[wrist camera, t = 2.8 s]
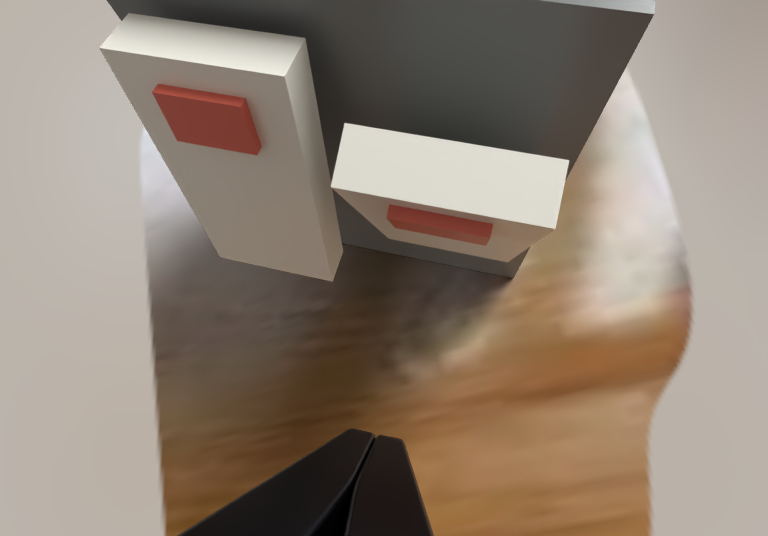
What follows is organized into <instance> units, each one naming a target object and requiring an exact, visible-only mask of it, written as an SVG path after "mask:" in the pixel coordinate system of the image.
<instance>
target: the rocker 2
mask: <svg viewBox="0 0 768 536" xmlns="http://www.w3.org/2000/svg"><path fill="white" fill-rule="evenodd" d="M568 164H569V160H565V159H559V158H553V157H547V156H541V155H535V154H529V153H523V152H517V151H511V150H505V149H499V148H493V147H487V146H481V145H475V144H469V143H463V142H457V141H451V140H445V139H439V138H433V137H427V136H420V135H414V134H408V133H402V132H396V131H390V130H384V129H378V128H372V127H366V126H360V125H354V124H348V123H345V124H344V128H343V133H342V137H341V142H340V147H339V151H338V156H337V160H336V165H335V169H334V174H333V179H332V183H331V188H332V189H333V190H335V191H336V192H337V193H338V194H339V195H340V196H341V197H342V198H344V199H345V200H346V201H347V202H348V203H349V204H350V205H351V206H353V207H354V208H355V209H356V210H357V211H358V212H359V213H360V214H362V215H363V216H364V217H365V218H366V219H367V220H368V221H369V222H371V223H372V224H373V225H374V226H375V227H376V228H377V229H378V230H380V231H381V232H382V233H383V234H384V235H385V236H386V237H387V238H388V239H393V240H398V241H403V242H408V243H413V244H418V245H423V246H428V247H433V248H438V249H443V250H448V251H453V252H458V253H463V254H468V255H473V256H478V257H483V258H488V259H493V260H498V261H503V262H509V261H510V260H512V259H513V258H515V257H516V256H517V255H519V254H520V253H522V252H523V251H525V250H526V249H527V248H529V247H530V246H532V245H533V244H535V243H536V242H537V241H539V240H540V239H542V238H543V237H545V236H546V235H547V234H549V233H550V232H552V231H553V230H555V228H556V223H557V218H558V214H559V209H560V204H561V199H562V194H563V189H564V184H565V179H566V174H567V169H568Z"/></svg>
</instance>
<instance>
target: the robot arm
mask: <svg viewBox="0 0 768 536" xmlns="http://www.w3.org/2000/svg"><path fill="white" fill-rule="evenodd" d="M178 536H434V535H433V531H432V528H431V525H430V522H429V519H428V516H427V512H426V509H425V506H424V503H423V500H422V497H421V493H420V490H419V487H418V484H417V481H416V478H415V475H414V471H413V468H412V465H411V462H410V459H409V456H408V452H407V449H406V446H405V444H404V442H403V440H401V439H398V438H393V437H389V436H384V435H379V436H377V437H376V438H375V435H374V434H373V433H370V432H366V431H361V430H357V429H349V430H346V431H345V432H343V433H341V434H340V435H338V436H337V437H335V438H333V439H332V440H330V441H329V442H327V443H325V444H324V445H322V446H321V447H319V448H317V449H316V450H314V451H313V452H311V453H309V454H308V455H306V456H305V457H303V458H301V459H300V460H298V461H296V462H295V463H293V464H292V465H290V466H288V467H287V468H285V469H284V470H282V471H280V472H279V473H277V474H276V475H274V476H272V477H271V478H269V479H268V480H266V481H264V482H263V483H261V484H259V485H258V486H256V487H255V488H253V489H251V490H250V491H248V492H247V493H245V494H243V495H242V496H240V497H239V498H237V499H235V500H234V501H232V502H231V503H229V504H227V505H226V506H224V507H223V508H221V509H219V510H218V511H216V512H214V513H213V514H211V515H210V516H208V517H206V518H205V519H203V520H202V521H200V522H198V523H197V524H195V525H194V526H192V527H190V528H189V529H187V530H186V531H184V532H182V533H181V534H179V535H178Z"/></svg>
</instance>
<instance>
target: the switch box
mask: <svg viewBox="0 0 768 536" xmlns="http://www.w3.org/2000/svg"><path fill="white" fill-rule="evenodd" d="M107 1H108V3H109V4H110V5H111V7H112V8H113V10H114V11H115V12H116V14H117V15H118V16H119V18H120V19H121V21H122V20H123V19H124V18H125V17H126V16H127V14H128V13H132V14H139V15H147V16H154V17H161V18H168V19H175V20H182V21H189V22H196V23H203V24H210V25H217V26H224V27H231V28H238V29H246V30H253V31H260V32H267V33H274V34H281V35H288V36H295V37H302V38H305V39H306V45H307V50H308V56H309V61H310V67H311V73H312V78H313V84H314V90H315V95H316V101H317V106H318V112H319V118H320V123H321V129H322V135H323V140H324V146H325V152H326V157H327V163H328V168H329V174H330V180H331V183H332V179H333V174H334V169H335V165H336V160H337V156H338V151H339V147H340V142H341V137H342V133H343V128H344V124H345V123H348V124H354V125H360V126H366V127H372V128H378V129H384V130H390V131H396V132H402V133H408V134H414V135H420V136H427V137H433V138H439V139H445V140H451V141H457V142H463V143H469V144H475V145H481V146H487V147H493V148H499V149H505V150H511V151H517V152H523V153H529V154H535V155H541V156H547V157H553V158H559V159H565V160H569V164H568V169H567V174H566V179H567V177H568V175H569V173H570V171H571V169H572V167H573V166H574V164H575V162H576V160H577V158H578V156H579V154H580V152H581V151H582V149H583V147H584V145H585V143H586V141H587V139H588V137H589V136H590V134H591V132H592V130H593V128H594V126H595V124H596V122H597V120H598V119H599V117H600V115H601V113H602V111H603V109H604V107H605V105H606V104H607V102H608V100H609V98H610V96H611V94H612V92H613V90H614V89H615V87H616V85H617V83H618V81H619V79H620V77H621V75H622V74H623V72H624V70H625V68H626V66H627V64H628V62H629V60H630V58H631V57H632V55H633V53H634V51H635V49H636V47H637V45H638V43H639V42H640V40H641V38H642V36H643V34H644V32H645V30H646V28H647V27H648V25H649V23H650V21H651V19H652V17H653V15H654V11H655V1H656V0H107ZM566 179H565V181H566ZM332 191H333V197H334V202H335V208H336V214H337V219H338V225H339V230H340V236H341V242H342V243H343V244H348V245H353V246H358V247H363V248H368V249H373V250H377V251H382V252H387V253H392V254H397V255H402V256H407V257H412V258H417V259H422V260H427V261H431V262H436V263H441V264H446V265H451V266H456V267H461V268H466V269H471V270H476V271H481V272H485V273H490V274H495V275H500V276H505V277H510V278H514V276H515V275H516V273H517V271H518V269H519V267H520V265H521V263H522V261H523V259H524V258H525V256H526V254H527V252H528V250H529V248H530V247H529V248H527V249H526V250H525V251H523V252H522V253H520V254H519V255H517V256H516V257H515V258H513V259H512V260H510V261H509V262H503V261H498V260H493V259H488V258H483V257H478V256H473V255H468V254H463V253H458V252H453V251H448V250H443V249H438V248H433V247H428V246H423V245H418V244H413V243H408V242H403V241H398V240H393V239H388V238H387V237H386V236H385V235H384V234H383V233H382V232H381V231H380V230H378V229H377V228H376V227H375V226H374V225H373V224H372V223H371V222H369V221H368V220H367V219H366V218H365V217H364V216H363V215H362V214H360V213H359V212H358V211H357V210H356V209H355V208H354V207H353V206H351V205H350V204H349V203H348V202H347V201H346V200H345V199H344V198H342V197H341V196H340V195H339V194H338V193H337V192H336V191H335V190H333V189H332Z"/></svg>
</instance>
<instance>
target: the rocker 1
mask: <svg viewBox="0 0 768 536" xmlns="http://www.w3.org/2000/svg"><path fill="white" fill-rule="evenodd" d="M100 50H101V52H102V54H103V55H104V57H105V59H106V60H107V62H108V64H109V65H110V67H111V69H112V71H113V72H114V74H115V76H116V78H117V80H118V81H119V83H120V85H121V86H122V88H123V90H124V92H125V93H126V95H127V97H128V99H129V100H130V102H131V104H132V106H133V107H134V109H135V111H136V112H137V114H138V116H139V118H140V119H141V121H142V123H143V125H144V126H145V128H146V130H147V132H148V133H149V135H150V137H151V139H152V140H153V142H154V144H155V145H156V147H157V149H158V151H159V152H160V154H161V156H162V158H163V159H164V161H165V163H166V165H167V166H168V168H169V170H170V171H171V173H172V175H173V177H174V178H175V180H176V182H177V184H178V185H179V187H180V189H181V191H182V192H183V194H184V196H185V198H186V199H187V201H188V203H189V204H190V206H191V208H192V210H193V211H194V213H195V215H196V217H197V218H198V220H199V222H200V224H201V225H202V227H203V229H204V230H205V232H206V234H207V236H208V237H209V239H210V241H211V243H212V244H213V246H214V248H215V250H216V251H217V253H218V255H219V256H220V257H221V258H225V259H230V260H234V261H239V262H244V263H248V264H253V265H258V266H262V267H267V268H271V269H276V270H281V271H285V272H290V273H294V274H299V275H304V276H308V277H313V278H318V279H322V280H327V281H331V282H333V279H334V276H335V274H336V271H337V268H338V265H339V262H340V259H341V257H342V254H343V247H342V242H341V236H340V230H339V225H338V219H337V214H336V208H335V202H334V197H333V191H332V188H331V180H330V174H329V168H328V163H327V157H326V152H325V146H324V140H323V135H322V129H321V123H320V118H319V112H318V106H317V101H316V95H315V90H314V84H313V78H312V73H311V67H310V61H309V56H308V50H307V45H306V39H305V38H302V37H295V36H288V35H281V34H274V33H267V32H260V31H253V30H246V29H238V28H231V27H224V26H217V25H210V24H203V23H196V22H189V21H182V20H175V19H168V18H161V17H154V16H147V15H139V14H132V13H128V14H127V16H126V17H125V18H124V19H123V20H122V22H121V23H120V24H119V25H118V26H117V27H116V29H115V30H114V31H113V32H112V33H111V35H110V36H109V37H108V38H107V39H106V40H105V42H104V43H103V44H102V45H101V47H100Z"/></svg>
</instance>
